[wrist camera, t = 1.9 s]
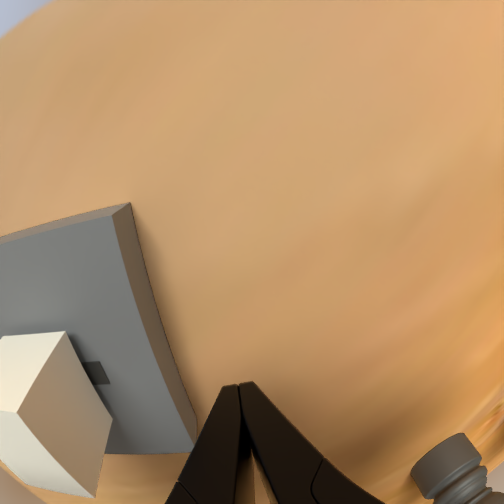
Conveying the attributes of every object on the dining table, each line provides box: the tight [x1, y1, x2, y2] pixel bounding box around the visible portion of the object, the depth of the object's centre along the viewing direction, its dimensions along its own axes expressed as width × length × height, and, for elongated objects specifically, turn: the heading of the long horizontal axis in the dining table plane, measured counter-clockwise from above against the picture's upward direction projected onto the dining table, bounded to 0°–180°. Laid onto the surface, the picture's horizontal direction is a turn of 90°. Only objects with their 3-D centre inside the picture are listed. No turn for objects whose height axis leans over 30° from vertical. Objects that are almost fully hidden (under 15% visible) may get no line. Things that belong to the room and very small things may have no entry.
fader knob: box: [0, 331, 113, 498], centre depth 7 cm, size 4×3×4 cm
